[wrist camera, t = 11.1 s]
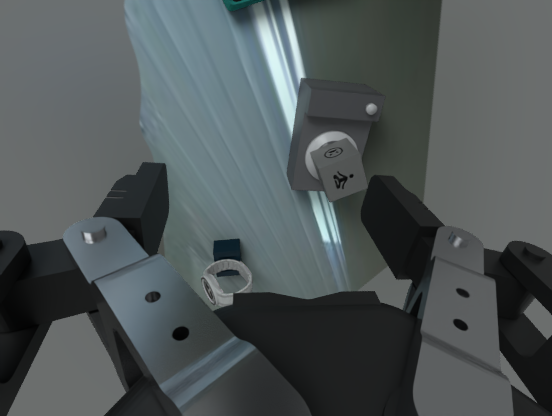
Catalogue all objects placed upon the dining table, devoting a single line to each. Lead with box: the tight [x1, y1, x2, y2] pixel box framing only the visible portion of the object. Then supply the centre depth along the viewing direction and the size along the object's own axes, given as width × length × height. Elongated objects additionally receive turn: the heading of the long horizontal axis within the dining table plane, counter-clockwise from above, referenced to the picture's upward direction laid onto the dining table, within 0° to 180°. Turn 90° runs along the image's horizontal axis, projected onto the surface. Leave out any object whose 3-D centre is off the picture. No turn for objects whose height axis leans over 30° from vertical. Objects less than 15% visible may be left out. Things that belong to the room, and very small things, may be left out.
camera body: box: [287, 78, 386, 191], centre depth 42 cm, size 14×9×7 cm, turn 173°
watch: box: [201, 239, 253, 307], centre depth 51 cm, size 6×8×11 cm
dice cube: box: [310, 138, 368, 202], centre depth 39 cm, size 5×5×5 cm
